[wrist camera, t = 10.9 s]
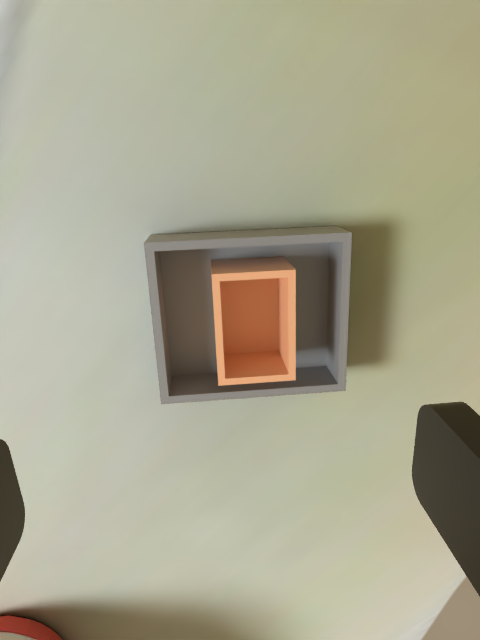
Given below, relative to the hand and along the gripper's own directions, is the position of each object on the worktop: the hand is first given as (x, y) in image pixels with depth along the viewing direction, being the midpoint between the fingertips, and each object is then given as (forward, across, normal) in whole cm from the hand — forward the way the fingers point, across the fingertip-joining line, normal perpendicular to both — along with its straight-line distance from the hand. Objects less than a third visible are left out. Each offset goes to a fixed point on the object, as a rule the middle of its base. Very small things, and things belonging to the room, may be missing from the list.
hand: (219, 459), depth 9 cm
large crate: (+26, -3, +6) cm, 27 cm away
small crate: (+26, -3, +6) cm, 26 cm away
